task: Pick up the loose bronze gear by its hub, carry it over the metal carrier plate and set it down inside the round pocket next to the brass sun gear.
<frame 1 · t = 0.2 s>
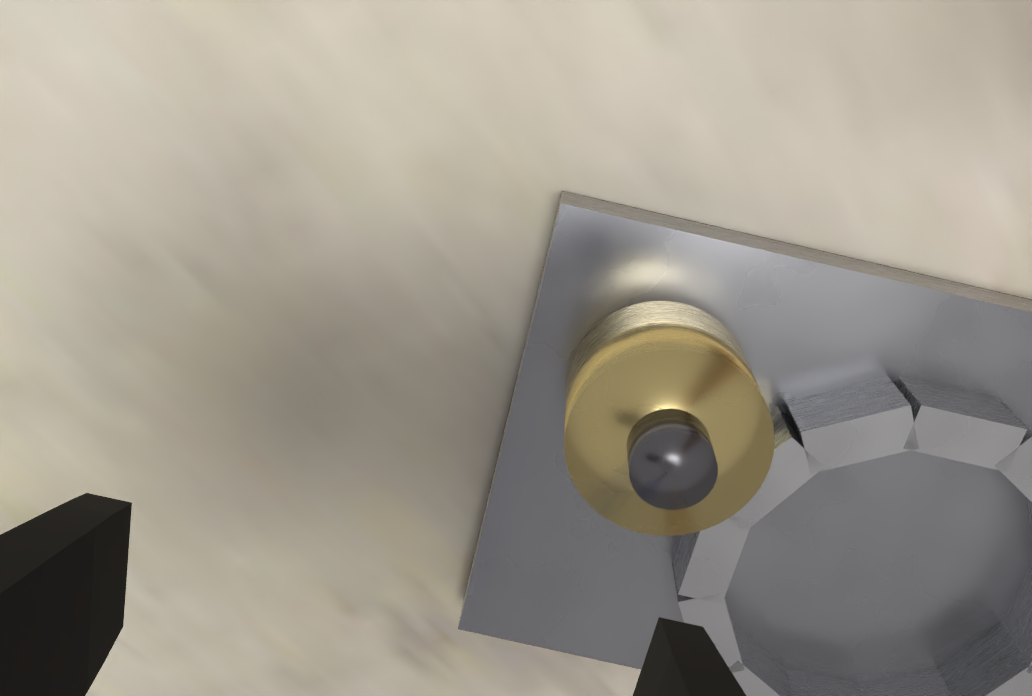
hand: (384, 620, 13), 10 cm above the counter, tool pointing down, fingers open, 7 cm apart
carrier: (772, 473, 23), on the counter
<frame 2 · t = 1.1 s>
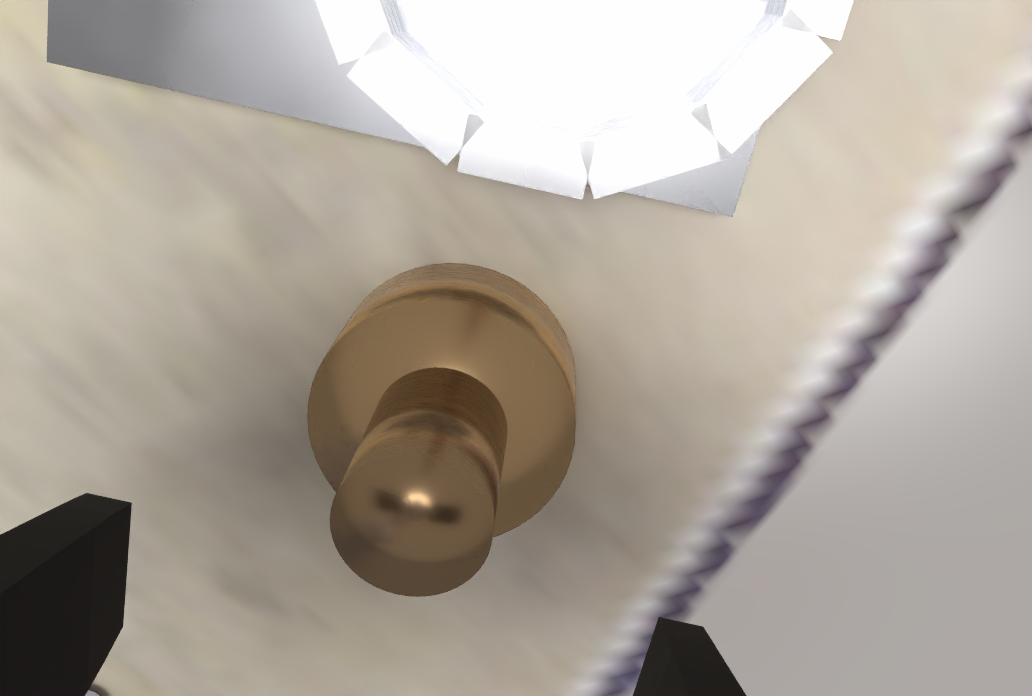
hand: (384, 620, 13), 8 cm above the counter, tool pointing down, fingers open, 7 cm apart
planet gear: (455, 377, 20), on the counter
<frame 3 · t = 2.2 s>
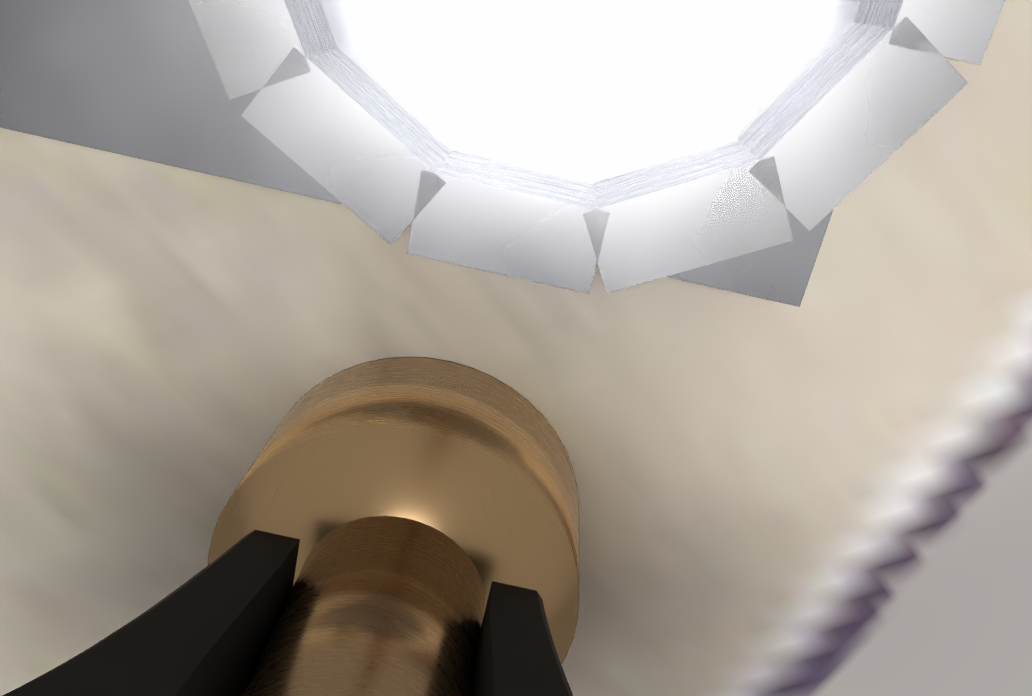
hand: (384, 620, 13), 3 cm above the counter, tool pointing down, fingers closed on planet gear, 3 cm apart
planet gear: (419, 504, 15), on the counter, touching gripper
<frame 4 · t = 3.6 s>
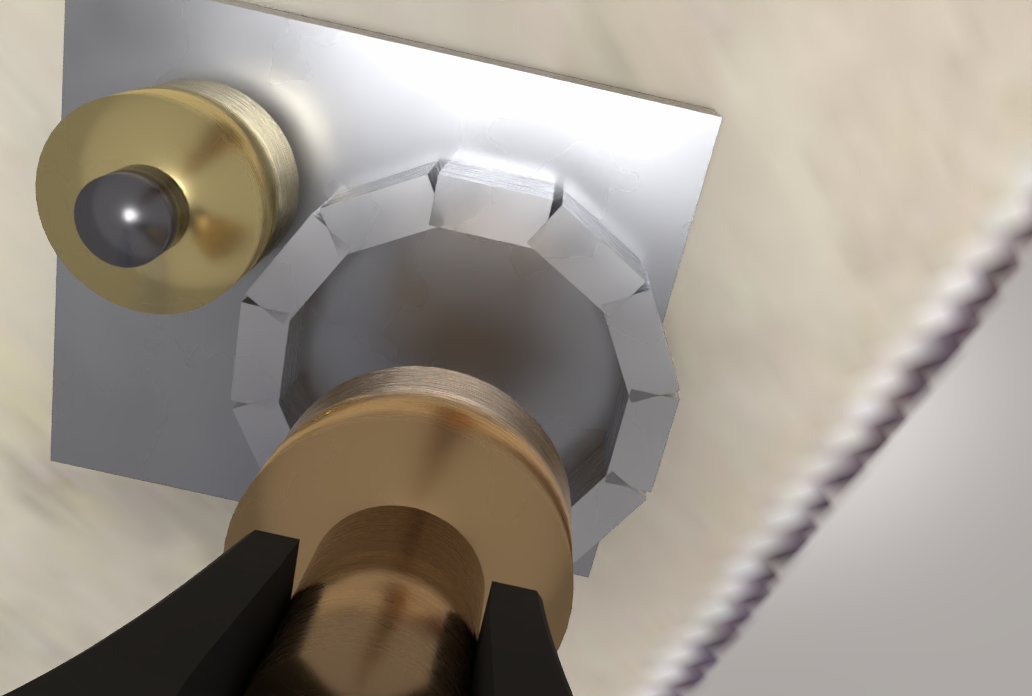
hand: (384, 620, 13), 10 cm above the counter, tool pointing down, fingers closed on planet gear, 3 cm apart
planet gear: (420, 508, 16), point 6 cm above the counter, touching gripper
carrier: (366, 288, 21), on the counter
when the fingers open (5 cm above the counter, at t = 4.7 s): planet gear stays where it is, resting on carrier.
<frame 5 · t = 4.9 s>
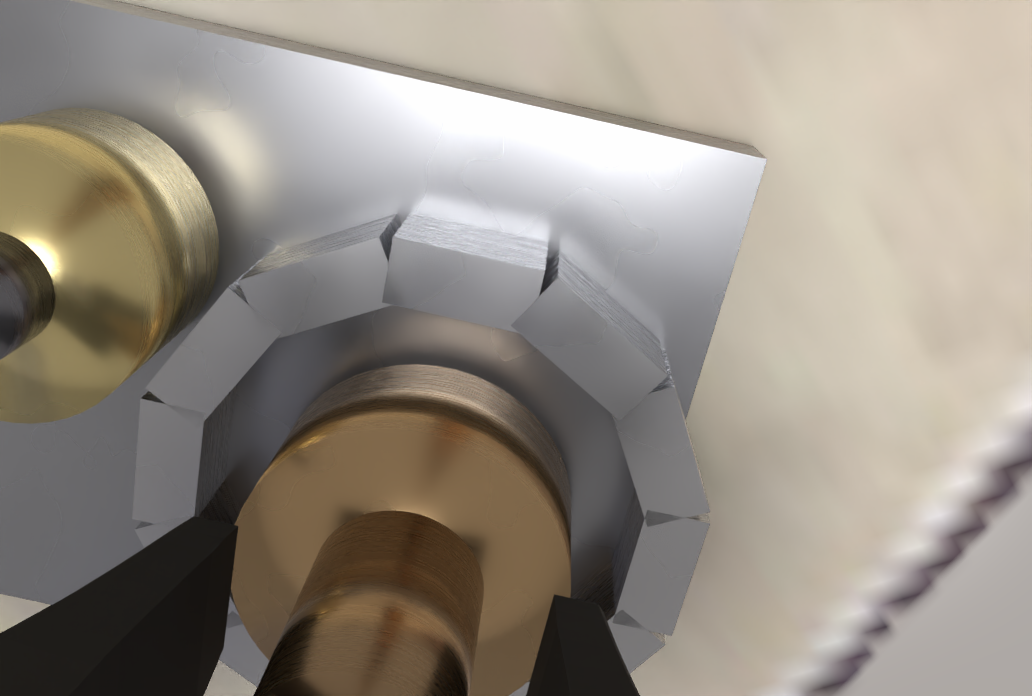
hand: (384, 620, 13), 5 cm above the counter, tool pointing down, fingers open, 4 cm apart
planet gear: (423, 501, 16), point 1 cm above the counter, touching carrier
carrier: (313, 365, 17), on the counter
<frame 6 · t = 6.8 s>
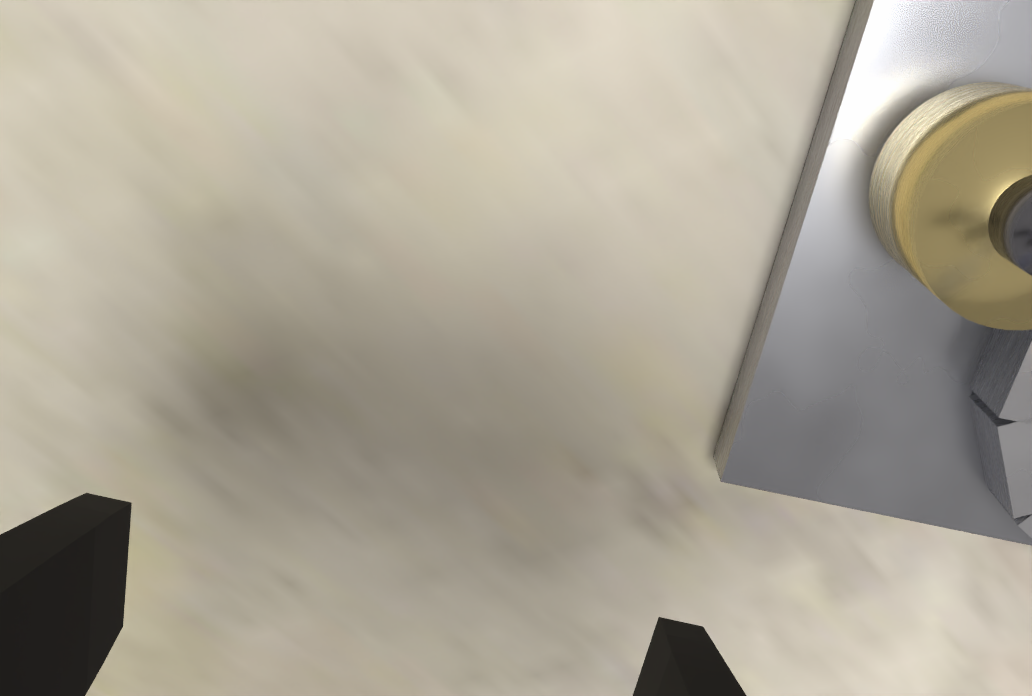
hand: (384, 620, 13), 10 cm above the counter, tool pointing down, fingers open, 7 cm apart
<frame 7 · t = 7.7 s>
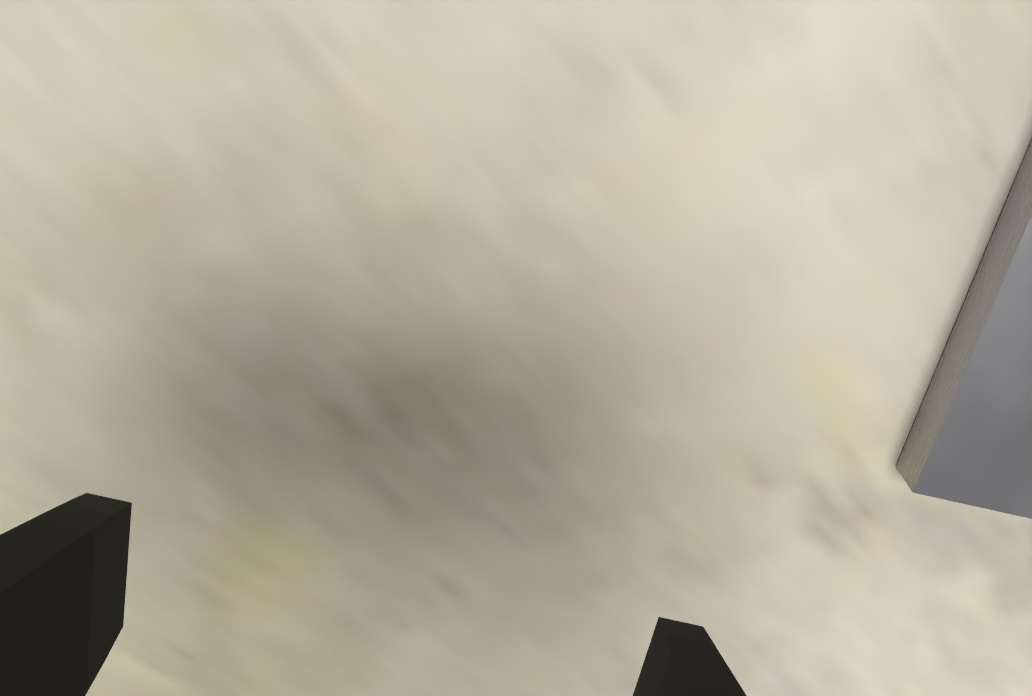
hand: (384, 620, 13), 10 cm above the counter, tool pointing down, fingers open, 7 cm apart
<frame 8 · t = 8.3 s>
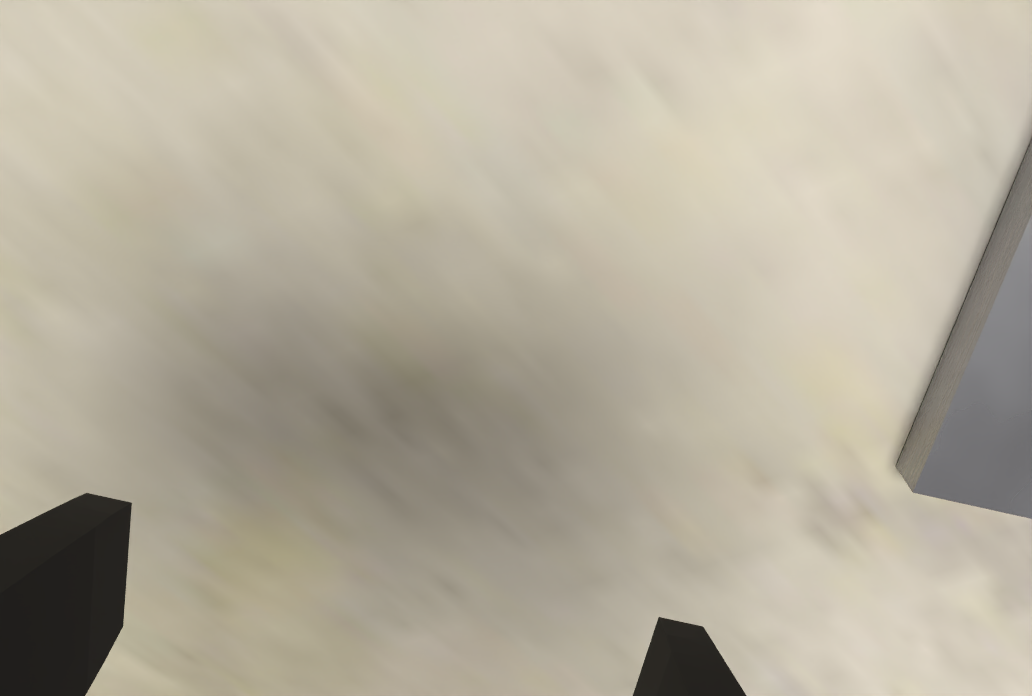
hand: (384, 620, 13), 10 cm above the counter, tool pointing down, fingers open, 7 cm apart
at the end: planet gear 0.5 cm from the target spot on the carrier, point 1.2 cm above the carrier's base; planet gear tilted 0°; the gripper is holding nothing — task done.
